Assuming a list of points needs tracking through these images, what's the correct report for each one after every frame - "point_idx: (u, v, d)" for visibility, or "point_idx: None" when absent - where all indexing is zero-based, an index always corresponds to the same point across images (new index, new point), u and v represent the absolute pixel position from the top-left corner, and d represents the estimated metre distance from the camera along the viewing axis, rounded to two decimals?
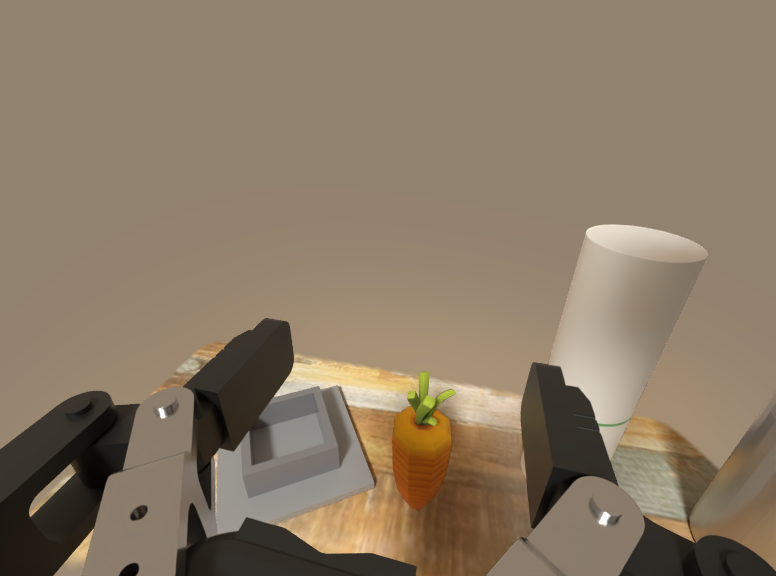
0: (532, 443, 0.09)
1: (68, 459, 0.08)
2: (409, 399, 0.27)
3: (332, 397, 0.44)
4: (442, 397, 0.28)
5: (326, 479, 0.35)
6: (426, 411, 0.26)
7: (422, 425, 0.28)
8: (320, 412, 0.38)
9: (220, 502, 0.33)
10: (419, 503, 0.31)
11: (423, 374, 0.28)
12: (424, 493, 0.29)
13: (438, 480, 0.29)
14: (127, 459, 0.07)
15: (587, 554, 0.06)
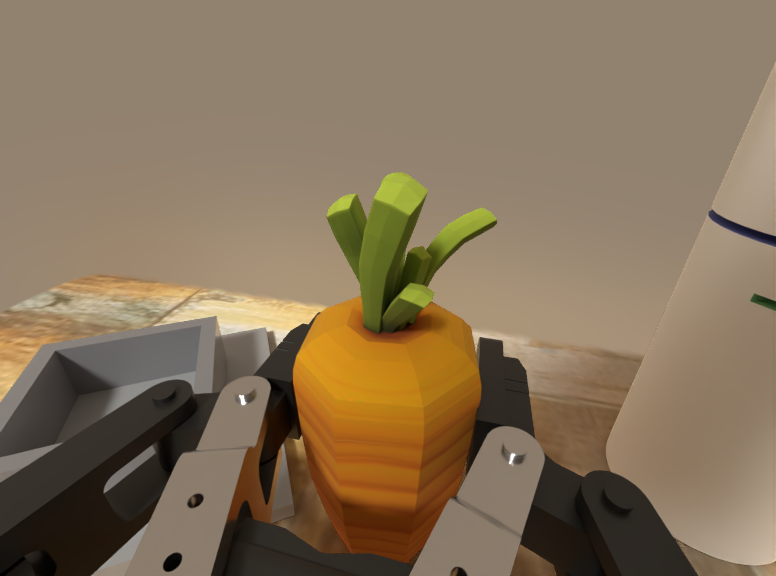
0: None
1: (145, 445, 0.08)
2: (334, 222, 0.07)
3: (251, 344, 0.25)
4: (451, 236, 0.08)
5: None
6: (390, 243, 0.06)
7: (386, 333, 0.09)
8: (200, 356, 0.19)
9: None
10: None
11: (394, 175, 0.09)
12: (395, 545, 0.10)
13: (437, 508, 0.10)
14: (202, 438, 0.08)
15: (506, 493, 0.07)
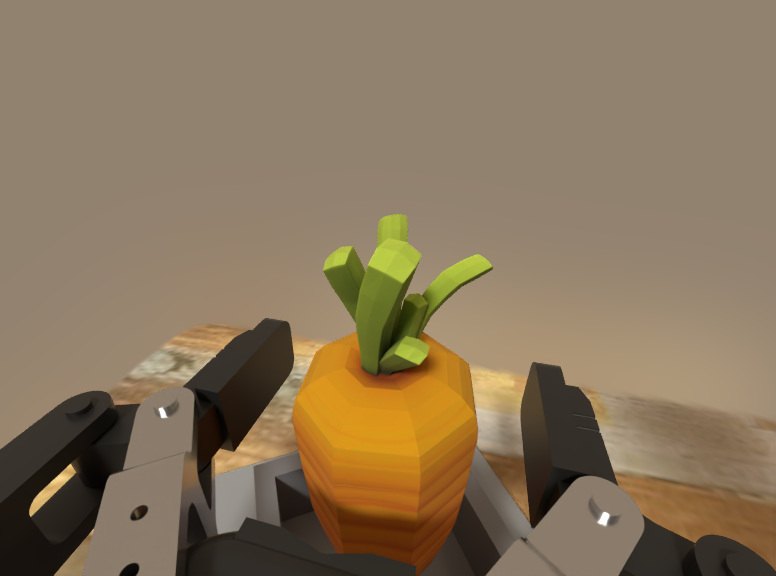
0: (532, 443, 0.09)
1: (69, 459, 0.08)
2: (331, 275, 0.07)
3: None
4: (447, 282, 0.08)
5: None
6: (385, 304, 0.07)
7: (384, 375, 0.09)
8: None
9: None
10: None
11: (391, 217, 0.09)
12: None
13: (435, 540, 0.10)
14: (127, 459, 0.07)
15: (587, 554, 0.06)
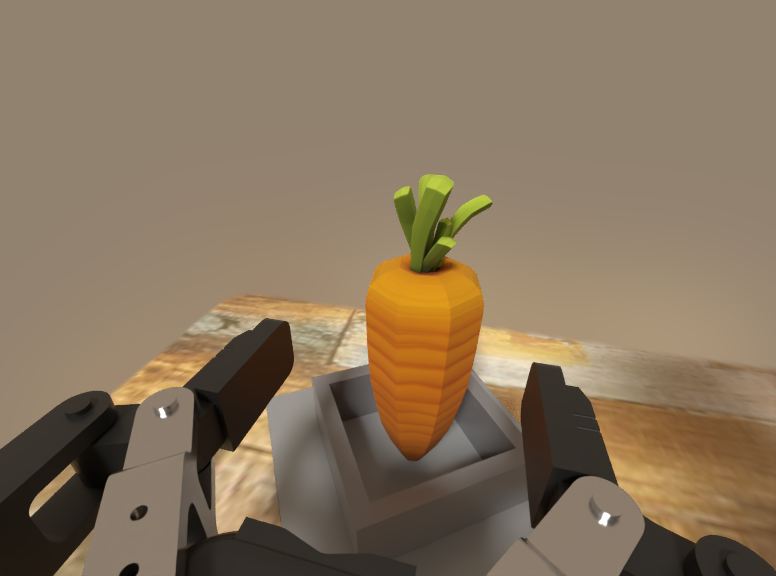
0: (532, 443, 0.09)
1: (68, 459, 0.08)
2: (398, 202, 0.13)
3: None
4: (464, 212, 0.14)
5: (512, 526, 0.17)
6: (433, 211, 0.12)
7: (424, 272, 0.14)
8: (470, 389, 0.20)
9: None
10: (418, 443, 0.17)
11: (428, 175, 0.14)
12: (427, 418, 0.15)
13: (455, 392, 0.15)
14: (127, 459, 0.07)
15: (587, 554, 0.06)
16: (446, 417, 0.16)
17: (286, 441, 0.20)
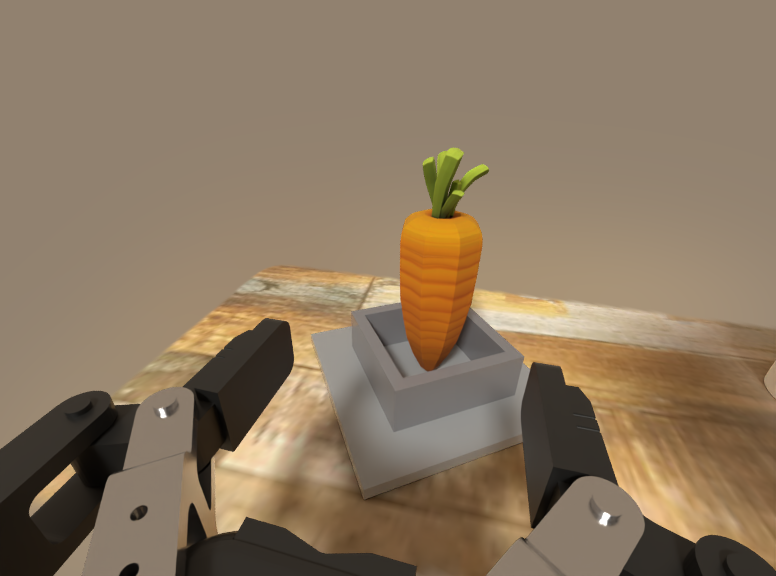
0: (532, 443, 0.09)
1: (68, 459, 0.08)
2: (425, 167, 0.19)
3: None
4: (470, 175, 0.20)
5: (502, 409, 0.23)
6: (450, 171, 0.18)
7: (442, 218, 0.20)
8: (472, 319, 0.26)
9: (351, 437, 0.21)
10: (434, 348, 0.23)
11: (444, 151, 0.21)
12: (442, 325, 0.22)
13: (462, 306, 0.22)
14: (127, 459, 0.07)
15: (588, 554, 0.06)
16: (455, 328, 0.22)
17: (331, 360, 0.27)
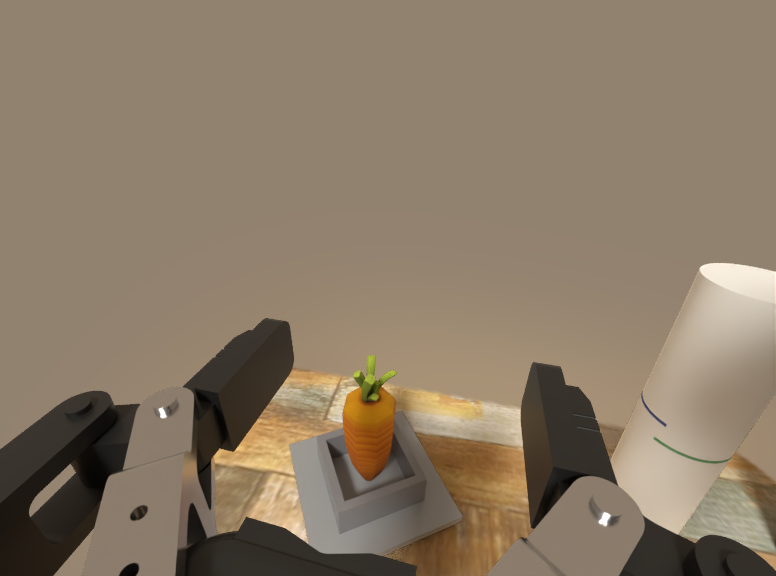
0: (532, 443, 0.09)
1: (68, 459, 0.08)
2: (355, 378, 0.31)
3: (400, 424, 0.44)
4: (385, 377, 0.31)
5: (413, 513, 0.35)
6: (368, 387, 0.30)
7: (368, 402, 0.32)
8: (400, 442, 0.38)
9: (311, 539, 0.32)
10: (369, 474, 0.35)
11: (370, 357, 0.32)
12: (371, 463, 0.33)
13: (384, 452, 0.33)
14: (127, 459, 0.07)
15: (587, 554, 0.06)
16: (381, 462, 0.34)
17: (302, 470, 0.38)
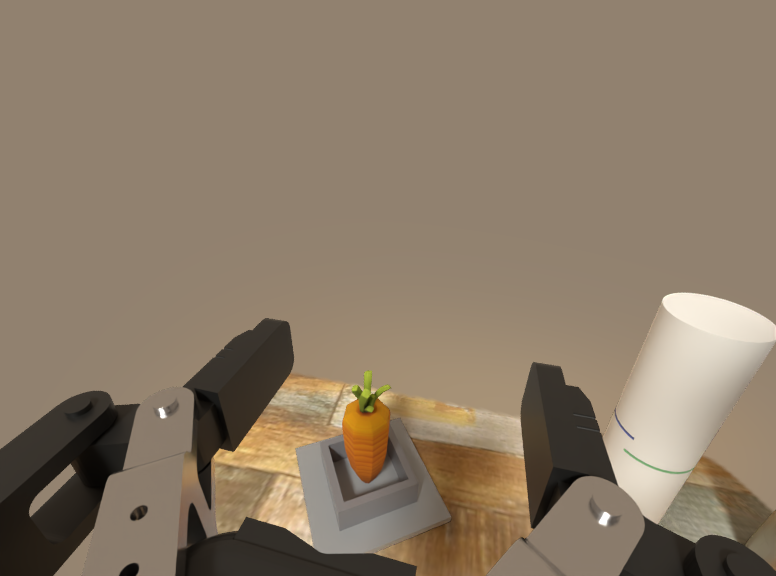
0: (532, 443, 0.09)
1: (68, 459, 0.08)
2: (353, 391, 0.34)
3: (397, 430, 0.48)
4: (380, 391, 0.35)
5: (406, 513, 0.38)
6: (364, 401, 0.33)
7: (365, 412, 0.36)
8: (395, 448, 0.41)
9: (314, 535, 0.36)
10: (366, 477, 0.38)
11: (367, 372, 0.36)
12: (368, 468, 0.37)
13: (379, 457, 0.37)
14: (127, 459, 0.07)
15: (587, 554, 0.06)
16: (377, 466, 0.38)
17: (307, 472, 0.42)
